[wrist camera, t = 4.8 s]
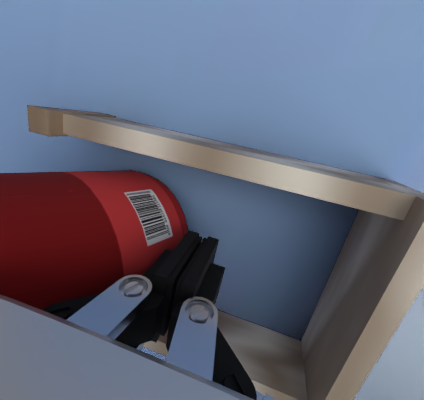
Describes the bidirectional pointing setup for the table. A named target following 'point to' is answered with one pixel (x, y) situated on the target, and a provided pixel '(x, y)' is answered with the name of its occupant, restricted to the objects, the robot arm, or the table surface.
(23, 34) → the table surface
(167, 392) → the robot arm
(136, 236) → the canned food
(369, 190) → the wooden frame
